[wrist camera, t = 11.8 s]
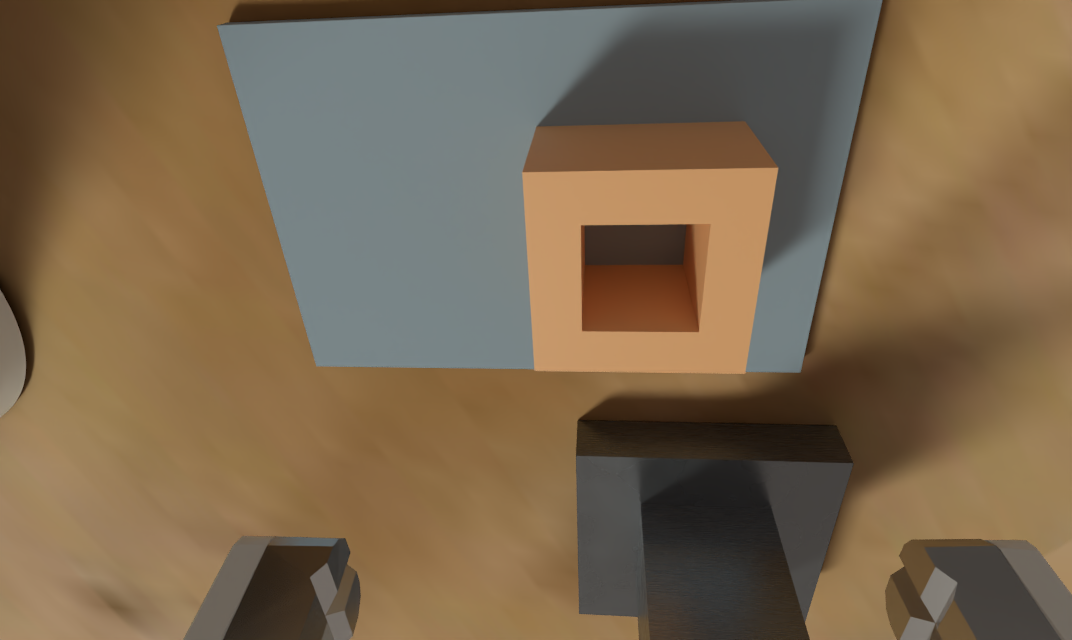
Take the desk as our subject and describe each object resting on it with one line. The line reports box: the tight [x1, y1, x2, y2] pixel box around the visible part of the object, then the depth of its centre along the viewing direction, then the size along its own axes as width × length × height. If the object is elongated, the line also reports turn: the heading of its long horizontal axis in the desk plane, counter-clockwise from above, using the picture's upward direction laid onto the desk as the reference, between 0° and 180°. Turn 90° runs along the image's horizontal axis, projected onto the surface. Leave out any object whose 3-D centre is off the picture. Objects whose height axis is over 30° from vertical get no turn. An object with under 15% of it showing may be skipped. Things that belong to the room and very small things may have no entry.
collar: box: [522, 121, 778, 374], centre depth 18 cm, size 6×6×4 cm
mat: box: [217, 0, 882, 373], centre depth 20 cm, size 18×12×1 cm, turn 93°
